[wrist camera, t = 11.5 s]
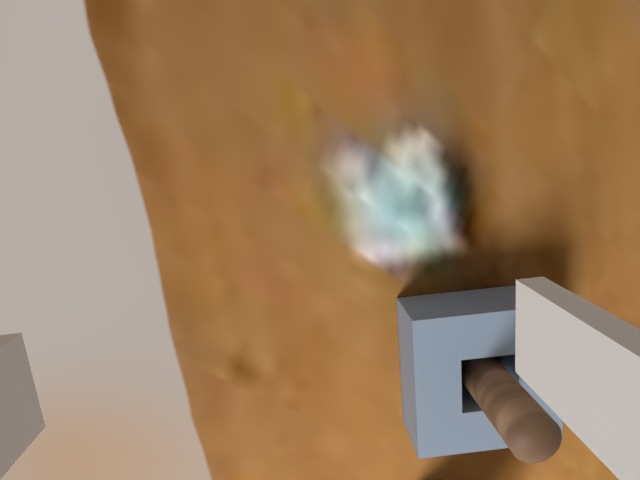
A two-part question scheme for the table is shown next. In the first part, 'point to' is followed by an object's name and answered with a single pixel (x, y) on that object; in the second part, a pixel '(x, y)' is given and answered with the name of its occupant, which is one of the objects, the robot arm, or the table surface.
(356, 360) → the table surface
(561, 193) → the table surface
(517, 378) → the socket block
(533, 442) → the long dowel
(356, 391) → the table surface
